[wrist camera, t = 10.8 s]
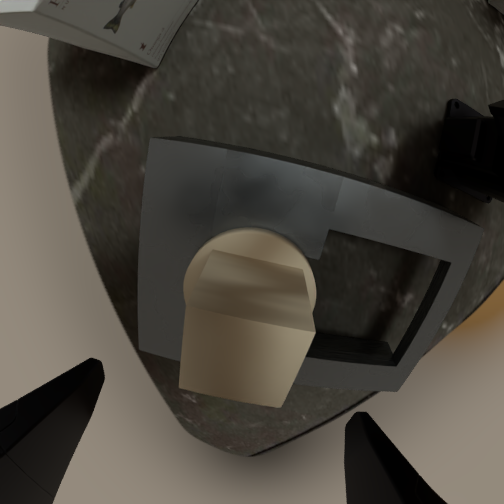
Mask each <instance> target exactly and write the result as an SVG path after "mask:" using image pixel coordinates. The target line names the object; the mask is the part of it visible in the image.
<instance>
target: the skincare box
mask: <svg viewBox="0 0 504 504" xmlns="http://www.w3.org/2000/svg"><path fill="white" fill-rule="evenodd" d="M488 3H489V4H491V5H492V6H493V7H495V8H496V9H497V10H498V11H500V12H501V13H502V14H503V15H504V0H488Z"/></svg>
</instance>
